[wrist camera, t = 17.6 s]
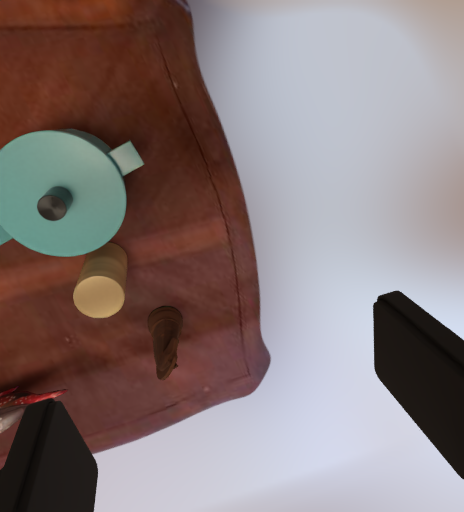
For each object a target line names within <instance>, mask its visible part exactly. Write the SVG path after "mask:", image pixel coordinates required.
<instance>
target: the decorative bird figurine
mask: <svg viewBox="0 0 464 512" xmlns="http://www.w3.org/2000/svg"><path fill="white" fill-rule="evenodd" d="M17 387H18V386H17ZM17 387H15V388H14V389H13V388H11V389H9V390H8V391H4V392H2V393H0V434H1V433H2V432H3V431H5V430H6V429H8V428H9V427H10V426H12V425H13V424H14V423H15V422H17V421H18V420H19V419H20V418H22V416H23V413H24V410H25V408H26V406H27V405H29V404H31V403H35V402H38V401H41V400H44V399H48V398H54V397H57V396H59V395H61V394H64V393H66V392H67V391H68V390H66V389H64V390H58V391H53V392H48V393H44V394H34V393H31V392H28V391H23V392H18V393H11V392H13V391H14V390H15V389H16V388H17ZM9 393H10V394H9Z"/></svg>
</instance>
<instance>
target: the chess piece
mask: <svg viewBox="0 0 464 512" xmlns="http://www.w3.org/2000/svg"><path fill="white" fill-rule="evenodd" d="M182 324H183V320H182V316H181V314H180V312H179V311H178V310H176V309H175V308H173V307H167V306H165V307H160V308H157V309H156V310H154V311H153V312H152V313H151V314H150V316H149V318H148V327H149V331H150V333H151V335H152V337H153V346H154V357H155V362H156V365H157V366H156V371H157V377H158V379H160V380H165V379H166V378H167V377H168V376H169V375H170V373H171V372H172V370H173V369H175V368H176V367H178V365H177V364H176V361H177V346H178V343H179V340H178V337H179V336H180V334H181V329H182Z"/></svg>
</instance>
